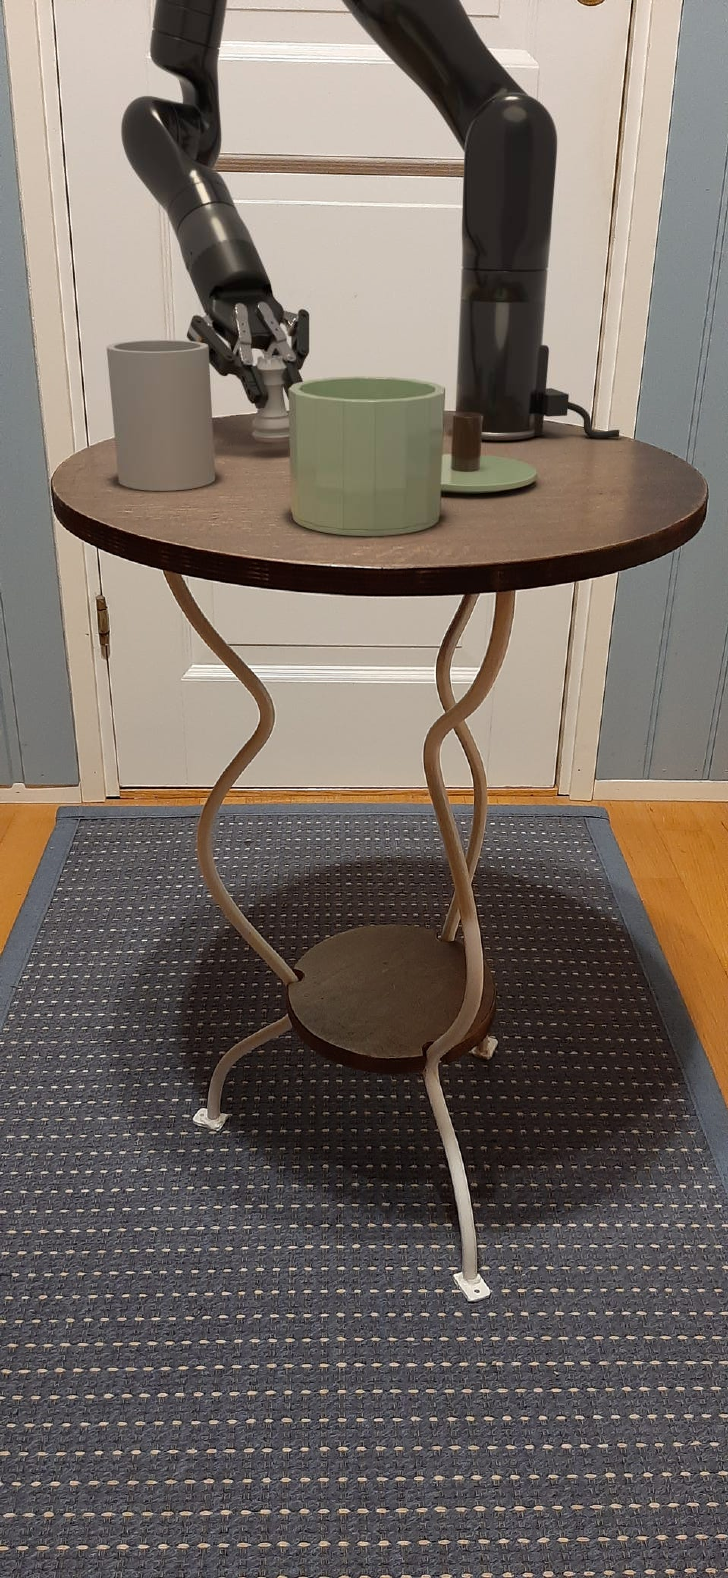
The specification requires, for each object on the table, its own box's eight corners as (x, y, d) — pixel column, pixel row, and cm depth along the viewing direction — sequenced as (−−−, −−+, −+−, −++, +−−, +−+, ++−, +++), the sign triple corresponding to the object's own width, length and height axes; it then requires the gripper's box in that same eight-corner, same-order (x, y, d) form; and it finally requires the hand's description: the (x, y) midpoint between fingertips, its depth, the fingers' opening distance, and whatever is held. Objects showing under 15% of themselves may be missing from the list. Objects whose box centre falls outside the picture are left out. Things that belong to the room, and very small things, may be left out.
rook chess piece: (292, 433, 122) (289, 353, 119) (296, 441, 118) (294, 359, 115) (249, 434, 122) (246, 354, 118) (253, 443, 118) (249, 360, 114)
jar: (411, 494, 105) (414, 374, 100) (461, 530, 95) (468, 397, 90) (277, 503, 102) (274, 379, 97) (314, 541, 91) (312, 404, 87)
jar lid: (502, 462, 118) (505, 399, 115) (560, 493, 106) (566, 424, 103) (375, 470, 114) (376, 405, 111) (421, 502, 103) (424, 431, 100)
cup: (121, 492, 105) (108, 353, 99) (116, 471, 113) (104, 341, 107) (220, 488, 107) (213, 351, 101) (209, 467, 115) (202, 339, 109)
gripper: (167, 237, 114) (227, 383, 110) (294, 234, 120) (353, 372, 117) (152, 292, 120) (208, 431, 117) (273, 286, 127) (329, 418, 123)
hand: (280, 401), depth 117 cm, fingers closed on rook chess piece, 3 cm apart
